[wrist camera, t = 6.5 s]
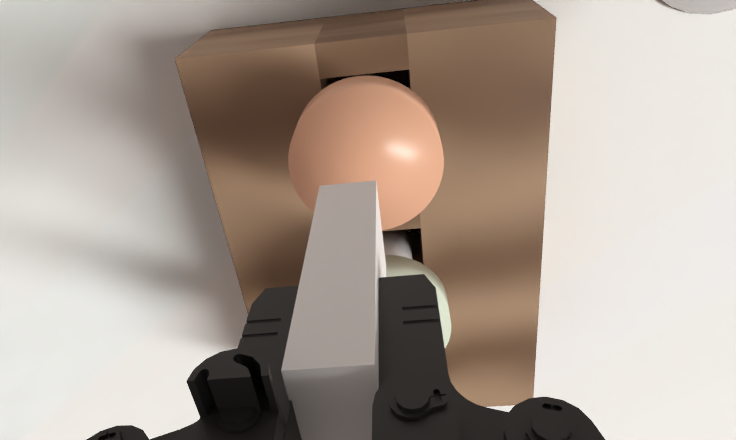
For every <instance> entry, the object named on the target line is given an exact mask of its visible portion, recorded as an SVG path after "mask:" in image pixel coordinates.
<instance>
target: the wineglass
mask: <svg viewBox="0 0 736 440" xmlns="http://www.w3.org/2000/svg"><path fill="white" fill-rule="evenodd" d="M662 1H663V2H665V3H666V4H667V5H669V6H670V7H673V8H676V9H679V10H682V11H685V12H688V13H694V14H714V13H719V12H725V11H730V10H733V9H736V0H662Z"/></svg>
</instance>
